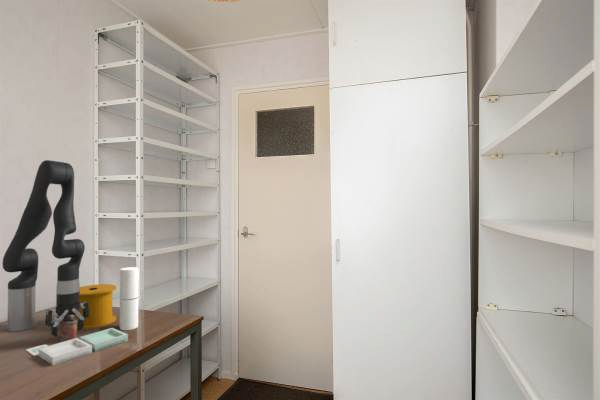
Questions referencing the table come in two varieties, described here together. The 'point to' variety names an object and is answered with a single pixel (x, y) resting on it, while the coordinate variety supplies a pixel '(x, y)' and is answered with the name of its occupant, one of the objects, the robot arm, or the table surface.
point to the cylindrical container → (129, 298)
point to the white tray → (65, 351)
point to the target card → (35, 350)
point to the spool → (97, 305)
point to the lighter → (67, 328)
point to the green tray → (105, 338)
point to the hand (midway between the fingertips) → (67, 332)
